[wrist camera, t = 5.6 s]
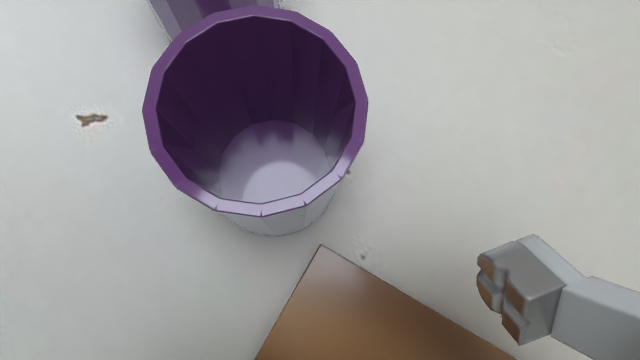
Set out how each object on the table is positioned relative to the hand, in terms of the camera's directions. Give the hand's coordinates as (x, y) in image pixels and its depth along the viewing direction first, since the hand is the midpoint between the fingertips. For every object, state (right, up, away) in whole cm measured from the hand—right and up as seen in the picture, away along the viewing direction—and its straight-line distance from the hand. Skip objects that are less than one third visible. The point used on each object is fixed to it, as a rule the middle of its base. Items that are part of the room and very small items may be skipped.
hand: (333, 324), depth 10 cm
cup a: (-3, +4, +12) cm, 13 cm away
